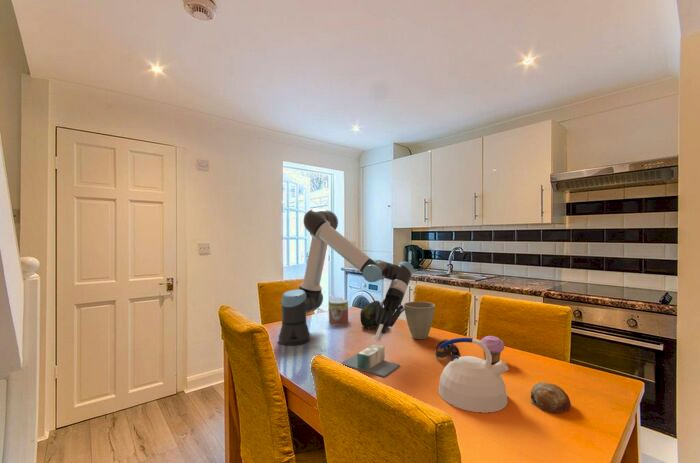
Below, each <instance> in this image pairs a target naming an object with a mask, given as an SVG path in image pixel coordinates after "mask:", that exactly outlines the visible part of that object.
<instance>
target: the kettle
mask: <svg viewBox="0 0 700 463" xmlns="http://www.w3.org/2000/svg"><path fill="white" fill-rule="evenodd" d="M447 340H448V341H446V342H444V343H442V344H441V345H439V347H438V348H439V349H443V348H445V347H446V346H448V345H450V344H457V343H471V344H472V343H473V344H474V345H477V346H478V347H480V348H481V349H482V351H483V353H484V352H485V355H486V360H485V359H483V358H480V357H476V356H471V355H468V356H467V355H466V356H461V357H459V356H456V355H453V356H452V357H451V359H450V360H451V361H449V363H448V364H447V365H446V366H444V367H443V370H442V372H441V374H440V376H439V385H438V386H439V388H438V394H439V395H440V397H441V398H442V399H443V400H444V401H445V402H446V403H447V404H449V405H450V406H452V407H455V408H457V409H460V410H463V411H467V412H472V413H479V412H481V413H483V414H485V413H488V412H489V413H494V412H495V413H496V412H498V411H501V410H503V409H504V408H506V407H507V405H508V396H507V388H506V386H507V385H506V383H505V381H504V379H503V377H502V375H503V374H504V373H506V372H508V371H509V367H508V365H507V364H506V362H505V361H504V360H502V359H500V361H499V362H498V363H492V356H491V353H490V350H489V349H488V348H487V346H486V345H485V344H483V343H482V342H481V340H479V339H477V338H473V337H456V338H451V339H447ZM443 350H444V349H443ZM492 364H493V365H492Z"/></svg>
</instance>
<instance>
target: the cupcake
mask: <svg viewBox="0 0 700 463" xmlns="http://www.w3.org/2000/svg"><path fill="white" fill-rule="evenodd" d="M480 341H481V342H482V343H483V344H485V345H486V346H487V348H488V349H489V350H490V353H491V356H492V363H491V364H496V363H498V362H500V360H501V359H500V358H501V353H502V352H504V349H505V343H504V342H503V340H501V339H500V338H499V337H497V336H494V335H487V336H484V337H482V338H481V339H480ZM483 356H484V360H486V355H485V352H484V351H483Z"/></svg>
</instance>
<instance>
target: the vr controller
mask: <svg viewBox="0 0 700 463" xmlns="http://www.w3.org/2000/svg"><path fill="white" fill-rule="evenodd" d="M448 340H449V339H443V340H440V341H439V342H437V343H436V345H435V346H434V348H435V357H436V359H439V358H441V359H443V358H448V357H449V358H450V357H451V358H452V357H453V356H457V357H462V355H461V352H460V350H459V348H458V346H457V345H456V343H453V344H450V345H448V346H446V347H445V348H443V350H438V348H440V347H439V345H441V344H442V343H444V342H446V341H448Z"/></svg>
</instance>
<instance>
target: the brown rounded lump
mask: <svg viewBox="0 0 700 463" xmlns="http://www.w3.org/2000/svg"><path fill="white" fill-rule="evenodd" d="M530 399H531V400H530V403H531V404H532V405H534V406H536V407H537V408H538V409H541V410H542V411H544V412H547V413H551V414H563V413H566V412H568V411H569V410H570V409H571V404H572V403H571V400H570V397H569V395H568V393H566V392H565V390H564V389H563V388H562V387H560V386H559V385H557V384H554V383H550V382H543V381H542V382H537V383H535V384H534V385H533V387H531V390H530Z"/></svg>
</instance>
